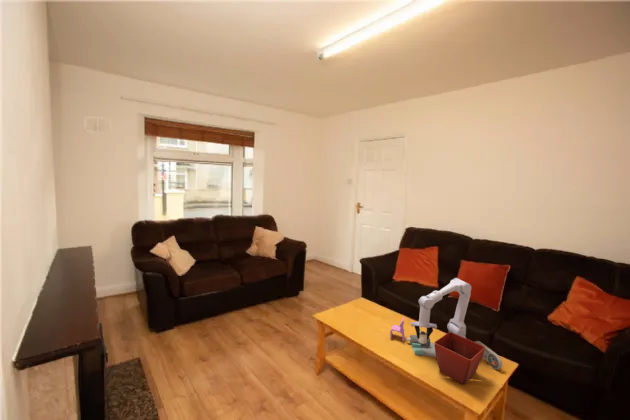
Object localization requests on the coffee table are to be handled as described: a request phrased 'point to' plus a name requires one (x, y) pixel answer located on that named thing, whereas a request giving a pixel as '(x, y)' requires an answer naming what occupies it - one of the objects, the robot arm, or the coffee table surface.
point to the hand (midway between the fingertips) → (422, 338)
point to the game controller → (491, 357)
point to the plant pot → (458, 356)
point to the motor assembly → (422, 347)
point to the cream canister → (422, 337)
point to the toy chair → (398, 329)
